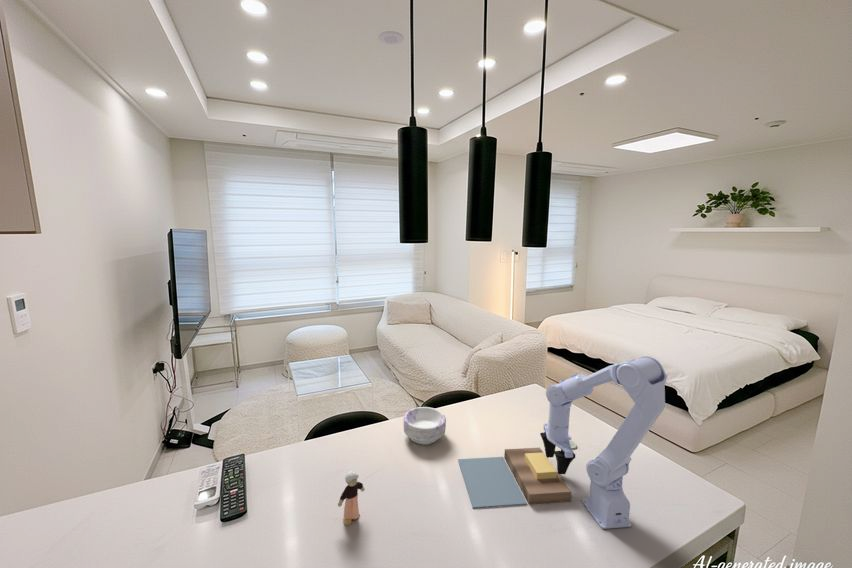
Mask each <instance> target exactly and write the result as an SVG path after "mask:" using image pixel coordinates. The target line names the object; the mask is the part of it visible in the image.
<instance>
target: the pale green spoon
mask: <svg viewBox="0 0 852 568" xmlns="http://www.w3.org/2000/svg"><path fill="white" fill-rule="evenodd" d="M569 442H570V446H571V449H572V450H576V448H577V443H576V442H575V441H574V440H572V439H571V440H569Z"/></svg>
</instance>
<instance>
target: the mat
mask: <svg viewBox="0 0 852 568" xmlns="http://www.w3.org/2000/svg"><path fill="white" fill-rule="evenodd" d="M457 461H458V464H459V467H460V472H461V475H462V478H463V481H464V484H465V488H466V490H467V494H468V497H469V500H470V504H471V507H472V509H473V510H474V509H485V508H486V509H488V508H498V507H499V506H502V507H513V506H514V507H515V505H516V506H526V505H528V502H527V500H526V498H525V496H524V494H523V493H522V491H521V489H520V487H519V485H518V483H517V481H516V479H515V477H514V475H513V473H512V472H511V470H510V468H509V466H508V464H507V462H506V460H505V458H504V456H493V457H475V458H458V459H457ZM487 507H488V508H487Z"/></svg>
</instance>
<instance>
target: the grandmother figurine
mask: <svg viewBox="0 0 852 568" xmlns="http://www.w3.org/2000/svg"><path fill="white" fill-rule="evenodd" d="M358 478H359V473H358V472H356V471H354V470H353V471H352V470H350V471H349V472H347V473H346V475H345V477H344V481H345V483H346V484H347V485H346V486H345V488H344V490H343V491H342V493H341V495H340V496H339V500H338V503H337V506H338V507H339V508H340V507H342V506H343V503H344V508H343V519H342V522H343V524H344V526H350V525H351V524H352V523H353V521H352V520H358V519H359V518H360V510H359V500H358V496H359V492H358V491H359V490H360V492H364V491H365V487H364V484H363V482H360V481H358ZM344 500H345V502H344Z"/></svg>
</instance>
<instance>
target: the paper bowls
mask: <svg viewBox="0 0 852 568" xmlns="http://www.w3.org/2000/svg"><path fill="white" fill-rule="evenodd" d="M446 422H447V417H446V415H445V414H444V413H443V411H441V410H439V409H438V408H434V407H429V406H419V407H414V408H411V409H410V410H407V412H405V414H404V415H403V432H404V434H405V435H406V436H407V438H409V439H411V440H412V441H413V442H414V443H416V444H418V445H430V444H433V443H435V442H436V441H438V439H440V438H442V437H443V436H444V435H445V434H446V428H447V427H446V426H447V423H446Z"/></svg>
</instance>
